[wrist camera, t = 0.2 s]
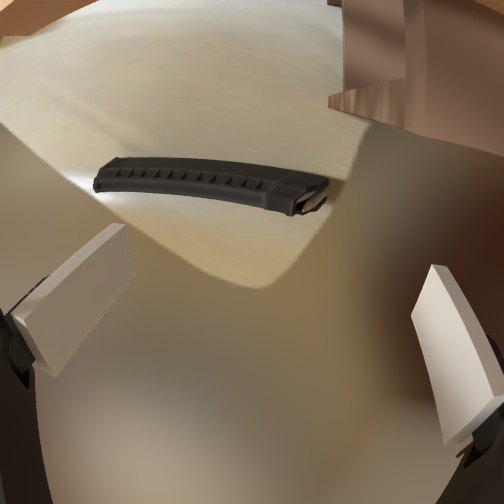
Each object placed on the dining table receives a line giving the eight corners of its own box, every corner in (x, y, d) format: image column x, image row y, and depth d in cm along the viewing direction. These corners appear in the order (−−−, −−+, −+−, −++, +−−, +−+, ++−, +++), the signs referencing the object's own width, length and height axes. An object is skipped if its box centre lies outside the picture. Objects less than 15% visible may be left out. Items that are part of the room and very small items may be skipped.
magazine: (74, 193, 35) (280, 255, 24) (71, 170, 33) (285, 218, 22) (156, 164, 49) (329, 199, 38) (156, 146, 47) (333, 175, 36)
